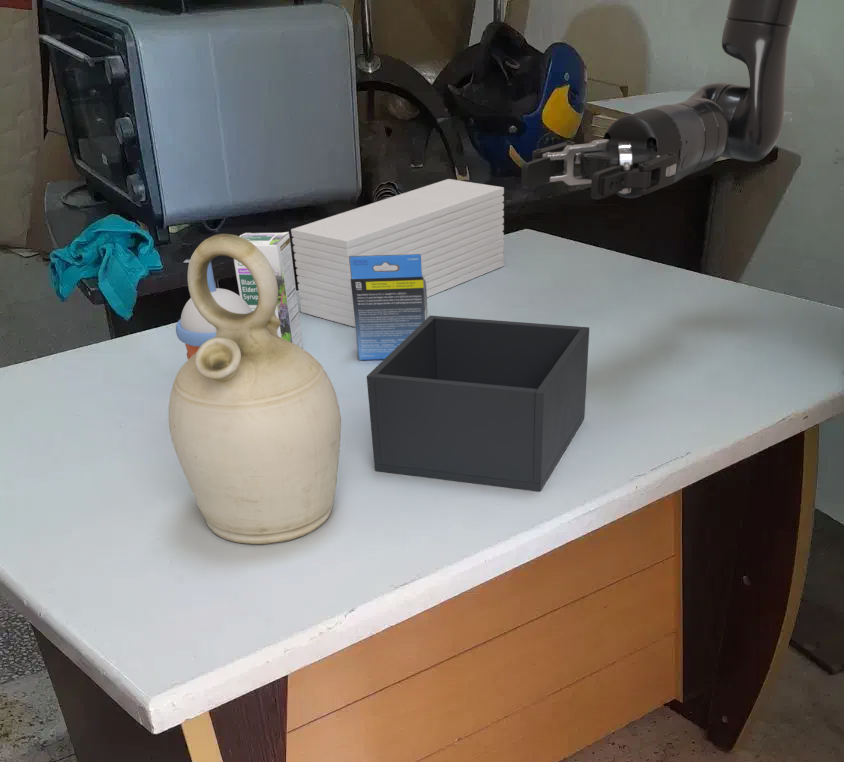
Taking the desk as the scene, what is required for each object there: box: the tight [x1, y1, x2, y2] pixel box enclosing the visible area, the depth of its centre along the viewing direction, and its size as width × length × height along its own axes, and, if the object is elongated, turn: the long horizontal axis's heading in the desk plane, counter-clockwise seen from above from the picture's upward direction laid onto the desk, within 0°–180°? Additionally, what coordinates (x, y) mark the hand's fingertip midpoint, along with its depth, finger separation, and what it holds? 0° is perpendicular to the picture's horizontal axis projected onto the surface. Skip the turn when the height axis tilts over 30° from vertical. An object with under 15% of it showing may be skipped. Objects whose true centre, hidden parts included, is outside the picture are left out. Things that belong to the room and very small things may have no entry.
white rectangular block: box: [290, 178, 505, 328], centre depth 144 cm, size 32×11×11 cm, turn 138°
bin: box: [366, 315, 590, 492], centre depth 104 cm, size 18×18×10 cm
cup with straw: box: [175, 261, 253, 360], centre depth 110 cm, size 9×9×18 cm
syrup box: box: [233, 231, 304, 349], centre depth 124 cm, size 6×6×14 cm
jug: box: [168, 233, 342, 545], centre depth 90 cm, size 15×16×25 cm
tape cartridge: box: [349, 254, 429, 361], centre depth 124 cm, size 9×4×12 cm, turn 84°
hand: (558, 181), depth 98 cm, fingers open, 8 cm apart
